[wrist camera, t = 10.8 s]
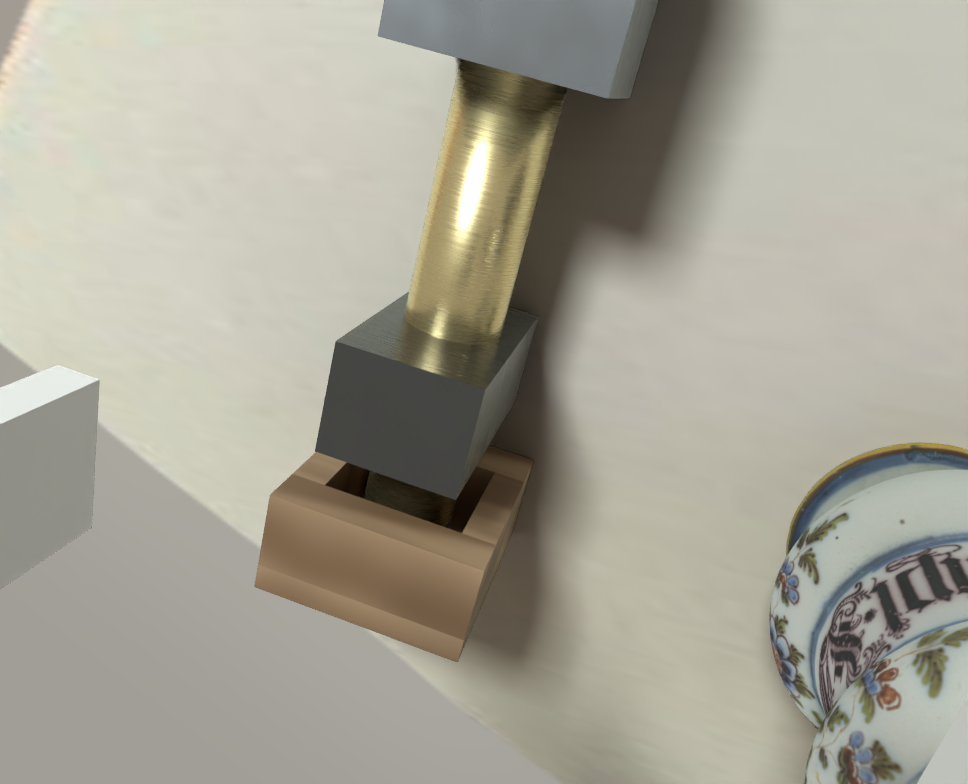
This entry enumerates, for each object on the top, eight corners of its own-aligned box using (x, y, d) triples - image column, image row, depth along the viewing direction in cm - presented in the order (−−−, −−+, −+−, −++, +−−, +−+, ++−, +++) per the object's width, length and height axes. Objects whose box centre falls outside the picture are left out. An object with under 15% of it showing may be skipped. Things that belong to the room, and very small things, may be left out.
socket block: (367, 404, 38) (270, 494, 30) (534, 460, 37) (484, 571, 29) (351, 479, 40) (254, 586, 31) (511, 535, 39) (457, 662, 30)
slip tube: (488, -1, 31) (407, -39, 22) (619, 33, 30) (587, 7, 22) (383, 466, 39) (291, 573, 30) (485, 501, 38) (423, 621, 29)
